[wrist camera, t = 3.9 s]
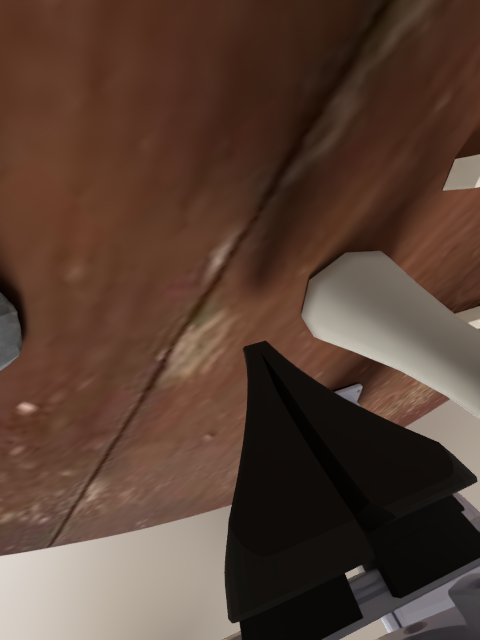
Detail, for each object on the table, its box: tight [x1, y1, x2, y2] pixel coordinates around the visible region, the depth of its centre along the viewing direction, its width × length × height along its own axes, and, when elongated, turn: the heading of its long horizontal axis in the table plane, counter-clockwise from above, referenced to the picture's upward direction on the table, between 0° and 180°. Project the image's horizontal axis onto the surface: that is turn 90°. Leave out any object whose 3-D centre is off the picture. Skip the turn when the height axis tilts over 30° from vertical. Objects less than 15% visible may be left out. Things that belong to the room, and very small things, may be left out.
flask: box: [301, 251, 480, 419], centre depth 10 cm, size 7×7×10 cm
